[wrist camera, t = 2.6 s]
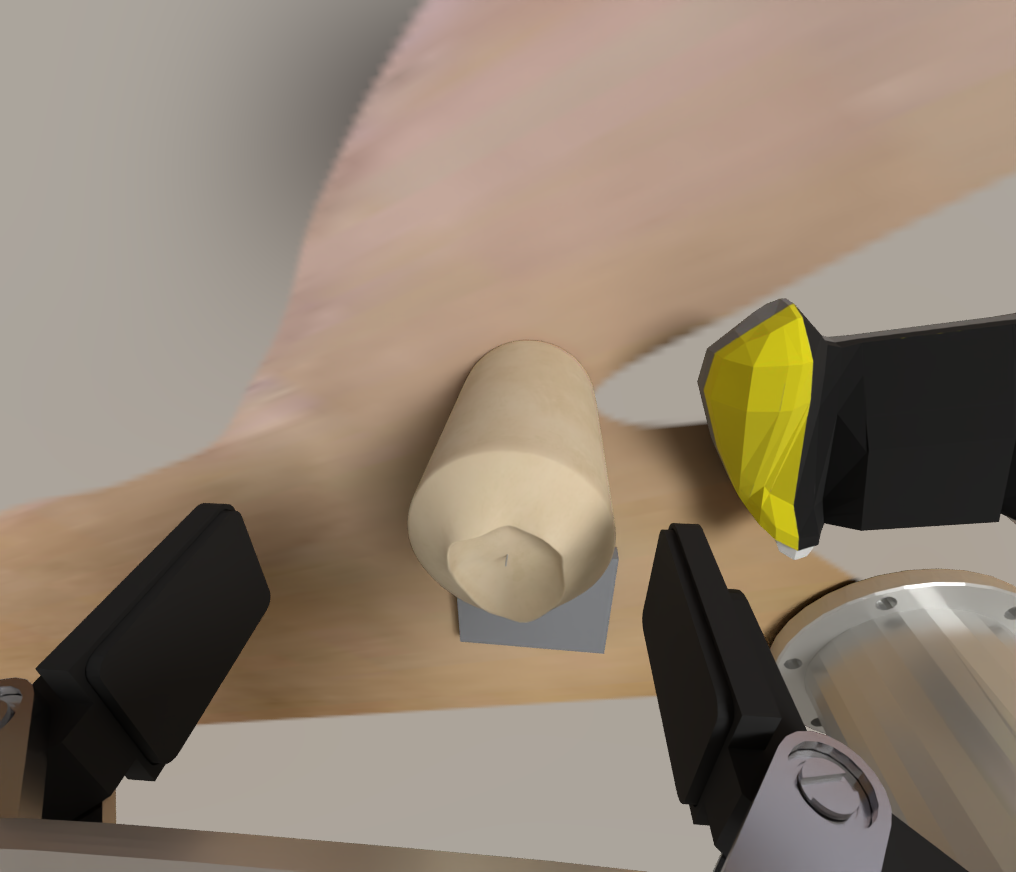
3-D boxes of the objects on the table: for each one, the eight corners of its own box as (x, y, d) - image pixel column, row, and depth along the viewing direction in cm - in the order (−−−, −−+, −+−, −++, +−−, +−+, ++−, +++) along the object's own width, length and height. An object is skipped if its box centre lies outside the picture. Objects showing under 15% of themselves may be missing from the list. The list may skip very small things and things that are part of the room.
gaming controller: (681, 283, 17) (681, 503, 22) (728, 327, 12) (715, 597, 17) (1188, 205, 15) (1065, 474, 19) (1493, 223, 10) (1230, 574, 15)
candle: (437, 393, 20) (343, 564, 11) (535, 308, 18) (511, 439, 9) (522, 477, 22) (497, 681, 13) (622, 409, 20) (670, 599, 11)
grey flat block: (616, 547, 23) (618, 559, 23) (602, 640, 27) (603, 653, 26) (456, 536, 24) (453, 547, 23) (462, 629, 27) (460, 641, 27)
